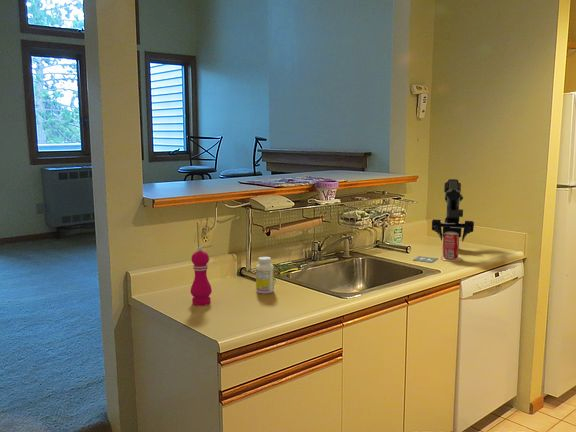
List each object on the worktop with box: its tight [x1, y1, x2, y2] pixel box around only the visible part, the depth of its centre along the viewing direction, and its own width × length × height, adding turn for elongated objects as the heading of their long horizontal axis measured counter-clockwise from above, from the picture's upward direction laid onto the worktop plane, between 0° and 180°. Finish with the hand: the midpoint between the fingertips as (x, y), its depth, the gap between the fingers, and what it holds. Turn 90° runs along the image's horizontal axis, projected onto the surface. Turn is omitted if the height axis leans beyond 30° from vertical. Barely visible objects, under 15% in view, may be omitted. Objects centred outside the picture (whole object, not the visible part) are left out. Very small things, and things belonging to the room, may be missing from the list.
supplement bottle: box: [255, 256, 275, 295], centre depth 203 cm, size 7×7×13 cm
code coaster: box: [412, 255, 439, 264], centre depth 254 cm, size 9×9×1 cm
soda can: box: [442, 232, 460, 259], centre depth 253 cm, size 7×7×12 cm
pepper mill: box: [190, 246, 213, 307], centre depth 189 cm, size 7×7×20 cm
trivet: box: [439, 255, 463, 263], centre depth 254 cm, size 10×10×1 cm
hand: (452, 240), depth 251 cm, fingers open, 9 cm apart
